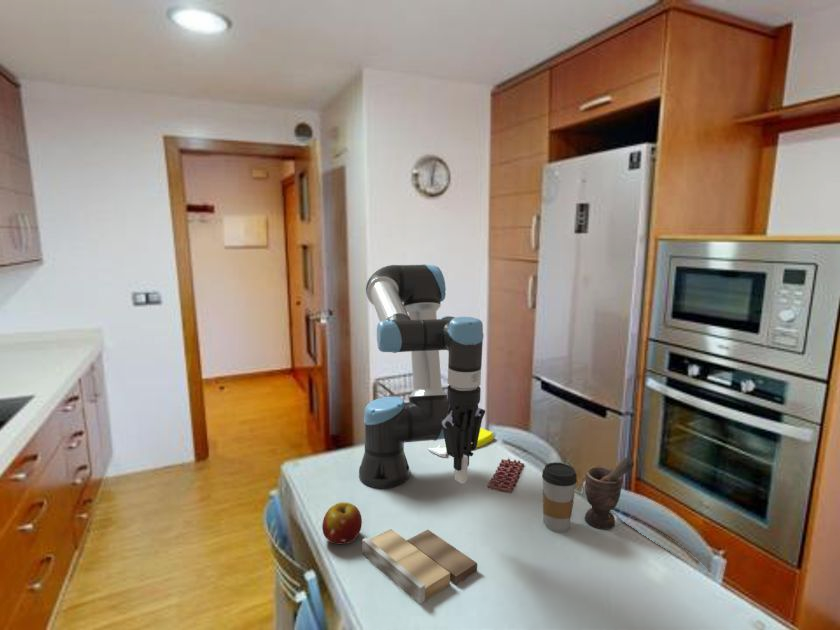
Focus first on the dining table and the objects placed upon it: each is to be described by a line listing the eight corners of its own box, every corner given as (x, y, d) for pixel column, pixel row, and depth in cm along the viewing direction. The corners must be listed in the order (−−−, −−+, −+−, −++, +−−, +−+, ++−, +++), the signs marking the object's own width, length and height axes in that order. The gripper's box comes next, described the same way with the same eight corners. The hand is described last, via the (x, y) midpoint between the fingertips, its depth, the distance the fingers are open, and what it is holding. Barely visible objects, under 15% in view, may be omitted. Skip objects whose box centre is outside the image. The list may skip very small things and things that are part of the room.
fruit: (343, 555, 111) (343, 523, 109) (314, 542, 115) (313, 510, 114) (369, 534, 119) (369, 503, 117) (341, 522, 123) (340, 492, 122)
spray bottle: (496, 441, 174) (447, 463, 157) (473, 432, 182) (424, 452, 165) (496, 433, 173) (447, 454, 157) (473, 424, 181) (424, 443, 165)
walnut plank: (406, 549, 114) (406, 540, 113) (427, 538, 118) (427, 529, 117) (455, 587, 102) (456, 576, 101) (477, 573, 106) (477, 563, 106)
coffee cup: (575, 537, 118) (579, 479, 116) (539, 532, 120) (543, 475, 117) (571, 517, 126) (575, 463, 124) (538, 513, 128) (541, 459, 126)
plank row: (362, 553, 111) (362, 539, 111) (391, 539, 117) (391, 525, 116) (420, 604, 96) (420, 587, 96) (449, 585, 102) (450, 569, 101)
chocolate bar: (524, 466, 155) (524, 460, 155) (511, 495, 138) (512, 488, 138) (502, 462, 158) (502, 456, 158) (487, 489, 141) (487, 483, 140)
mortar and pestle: (635, 525, 123) (641, 450, 120) (625, 541, 117) (631, 463, 114) (589, 508, 131) (594, 438, 127) (577, 523, 124) (582, 449, 121)
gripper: (455, 396, 104) (452, 497, 109) (495, 384, 113) (491, 478, 117) (431, 387, 110) (429, 483, 114) (471, 376, 118) (468, 466, 123)
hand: (460, 480), depth 116 cm, fingers closed
